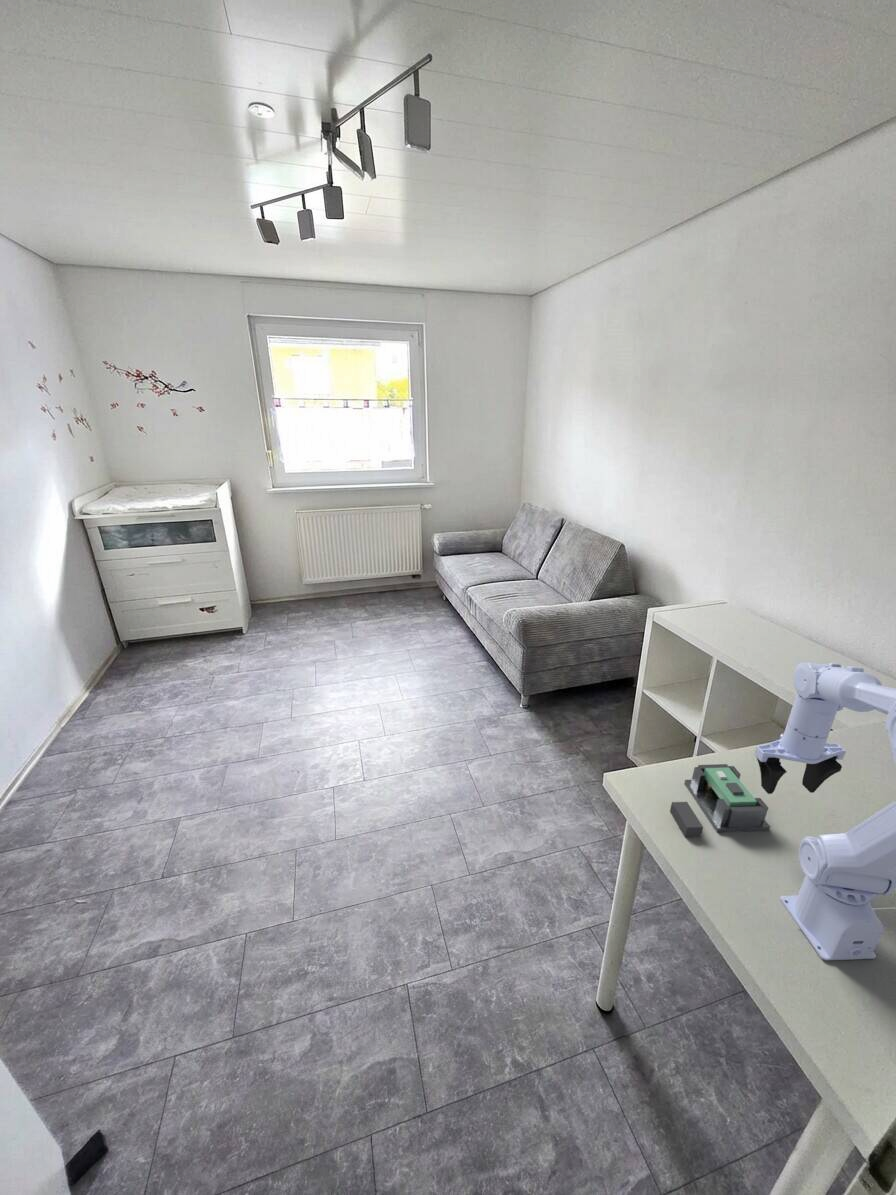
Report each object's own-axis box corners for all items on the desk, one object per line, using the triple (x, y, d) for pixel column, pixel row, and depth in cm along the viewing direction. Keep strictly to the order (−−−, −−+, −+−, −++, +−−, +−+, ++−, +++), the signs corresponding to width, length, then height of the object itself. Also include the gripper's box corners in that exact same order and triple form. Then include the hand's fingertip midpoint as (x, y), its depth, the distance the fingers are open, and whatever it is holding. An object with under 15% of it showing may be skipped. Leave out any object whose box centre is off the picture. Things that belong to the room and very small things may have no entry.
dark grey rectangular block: (700, 836, 88) (703, 827, 87) (684, 837, 88) (687, 827, 87) (684, 811, 94) (687, 801, 93) (669, 811, 94) (671, 802, 93)
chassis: (730, 782, 101) (735, 763, 99) (769, 830, 89) (775, 810, 87) (684, 783, 100) (688, 764, 99) (716, 832, 89) (722, 812, 87)
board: (726, 775, 98) (729, 765, 97) (754, 809, 90) (757, 799, 89) (703, 775, 98) (705, 765, 97) (728, 810, 89) (731, 799, 88)
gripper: (831, 712, 84) (810, 772, 90) (751, 714, 84) (734, 774, 89) (864, 737, 78) (839, 800, 83) (778, 740, 78) (758, 803, 83)
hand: (787, 789), depth 86 cm, fingers open, 7 cm apart
